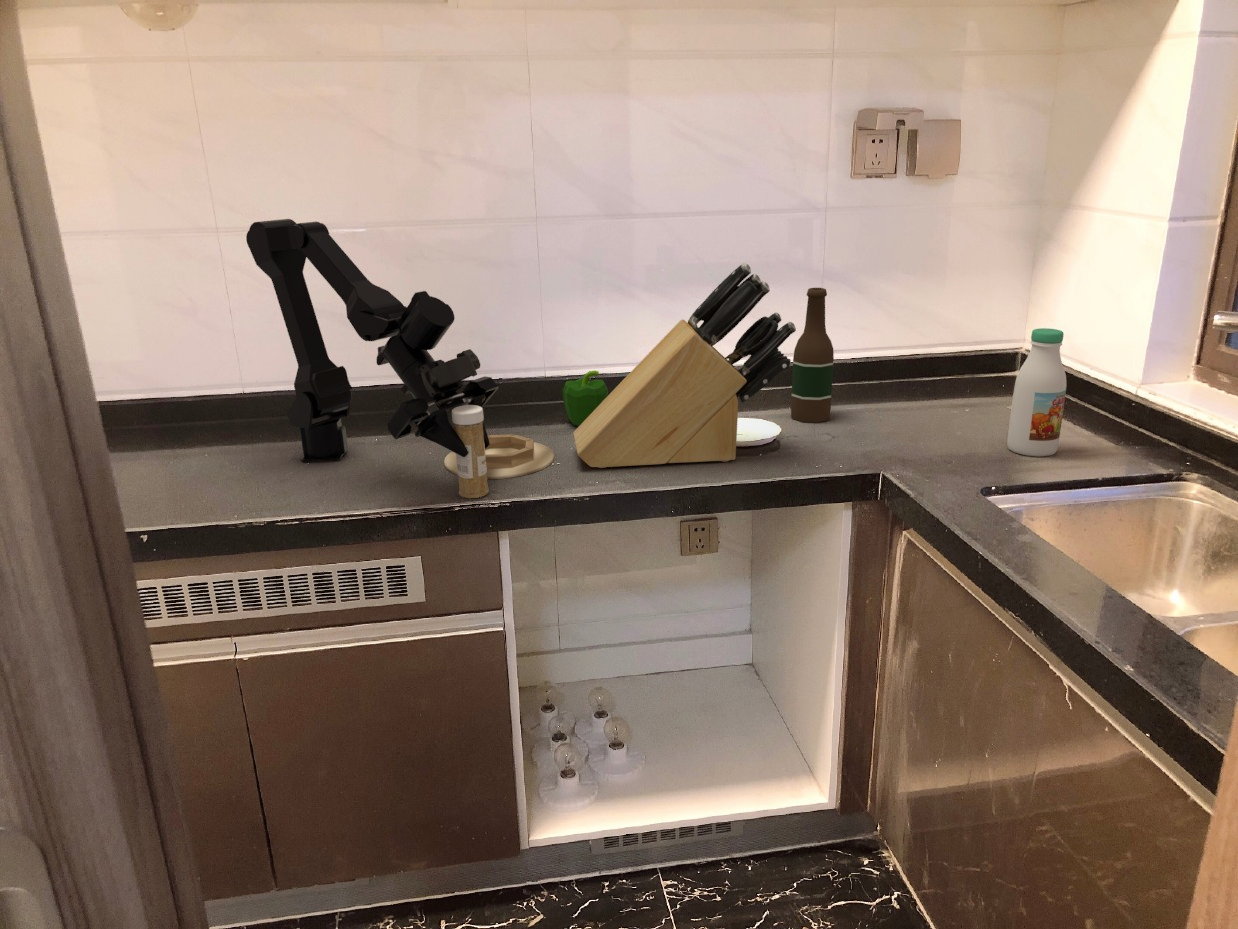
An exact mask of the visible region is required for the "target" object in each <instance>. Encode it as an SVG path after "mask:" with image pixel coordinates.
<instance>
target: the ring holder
mask: <svg viewBox="0 0 1238 929" xmlns="http://www.w3.org/2000/svg"><path fill="white" fill-rule="evenodd" d="M487 435H488V434H487ZM488 439H489V442H490V445H489V447H488V448H486V449H485V456H486V466H487V480H502V479H503V480H504V479H512V478H519V477H522V476H527V475H528V476H529V475H532V474H534V473H535V474H536V473H537V472H540V471H542V470H544V469H546V468H547V467H549V466H551V464H552V463H553V462H554V457H555V456H554V455H555V454H554V451H553V450H552V449H551V448H550V447H549V446H547V445H544V444H542V443H540V442H539V443H538V442H535V441H534V439H532V438H530V437H529V438H528V437H526V436H522V435H518V434H491V435H488ZM444 467H445V469H446V470H447V471H448V472H450V473H451V474H454V475H457V476H458V471H457V461H456V453H454V452H453V451H451V452H449V453H448V454H447V455H446V456H445V457H444Z"/></svg>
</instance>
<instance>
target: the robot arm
mask: <svg viewBox="0 0 1238 929" xmlns="http://www.w3.org/2000/svg"><path fill="white" fill-rule="evenodd" d="M245 236H246V243H247V247H248V248H249V250H250V251H249V252H250V254H251V255H252V259H254V262H255V264H256V266H257V267H258V268H259V269H260V270H262V272H264V274H266V276H267V277H268V278H270V280H271V282H272V285H273V289H274V291H275V294H276V298H277V301H278V304H279V309H280V311H281V315H282V317H283V321H284V323H285V327H286V331H287V334H288V338H289V339H290V344H291V347H292V349H293V353H294V356H295V359H296V362H297V371H296V375H295V379H294V383H293V387H294V392H295V397H296V398H295V400H294V401H293V403H292V404H291V406H290V408H289V409H288V411H287V412H286V415H287V418H288V421H289V424H290V426H293V427H297V428H299V432H300V440H301V445H302V446H301V447H302V453H303V455H302V457H300V461H301V462H304V463H305V462H307V463H308V462H326V461H327V462H329V461H334V462H335V461H340V460H342V458H343V456H344V455H345V454H346V452H347V451H348V448H349V447H348V446H349V445H348V438H347V431H346V430H347V429H346V427H345V426H343V425H342V419H343V418H348V417H349V415H350V408H351V402H352V400H353V394H352V391H351V390H353V387H352V385H351V383H350V381H349V378H348V373H347V369H346V368H345V367H344V366H343V365H341V366H338V365H337V364H335V363H334V362H333V361H332V360H331V359H330V358H329V354H328V351H327V348H326V344H325V341H324V338H323V335H322V332H321V328H320V325H319V321H318V318H317V316H316V312H315V308H314V305H313V303H312V299H311V296H310V292H309V289H308V285H307V282H306V279H305V275H304V269H305V264H306V261H307V260H308V261H309V262H310V263H311V264H312V265H313V267H314V268H315V269H316V271H317V272H318V273H319V274H320V275H321V277H323V279H324V280H325V281H326V282H327V283H328V285H330V287H331V288H332V290H334V291H335V293H336V294H337V295H338V296H339V297H340V299H341V300H342V302H343V303H344V305H345V308H346V309H345V310H346V318H347V320H348V322H349V323H350V324H351V326H352V328H353V329H354V330H355V332H356V334H357V335H358V337H359V338H360V339H362V340H363V341H365V342H375V341H380V340H384V339H388V340H387V341H386V342H385V344H384V345H381V346H378V347H377V356H376V365H377V366H383V365H385V364H389V365H390V367H391V368H392V369H393V370H394V372H395V374H396V375H397V376H398V377H399V379H400V380H401V381H402V383H403V386H402V387H401V388H400V390H401V392H402V393H403V394H404V395H408V394H411V395H412V397H413V398H412V399H409V400H406V401H404V402H400V403H399V405H398V406H397V408H396V409H395V410H394V411H393V413H392V414H391V415H390V417H389V418H388V420H387V430H388V432H389V433H390V435H391V436H392V437H393V439H394V440H398V439H401V438H405V437H408V436H409V435H410V434H411V432H412V426H411V424H413V423H414V424H415V427H416V428H417V430H416V431H415V433H414V436H415V437H416V438H420V437H421V438H424V439H426V440H428V441H430V442H432V443H435V444H437V445H439V446H441V447H443V448H445V449H447V450H449V451H451V452H452V451H453V452H454V453H456V454H458V455H460V456H462V457H466V456H467V455H468V451H467V449H466V447H465V445H464V443H463V442H462V440H461V439H460V438H459V436H458V435H457V433H456V432H455V430H454V426H453V425H451V423H450V421H449V417H448V411H452V409H454V408H456V407H459V406H464V405H476V406H480V407H482V408H484V407H485V405H486V404H487V403H488V401H489V400H490V399H491V398H492V397H493V396H494V394H495V393H496V391H498V390H499V389H500V388H499V386H498V384H497V383H496V382H495V380H494V379H493V378H492V376H491V377H490V376H485V375H484V376H482V377H479V378H475V379H472V380H470V381H469V382H467V385H466V386H465V387H464V389H463V390H462V391H461V392H459V393H458V390H459V389H461V388H462V387H463V385H464V382H463V381H464V380H466V379H469V378H470V377H475V376H477V375H478V373H477V372H478V371H477V370H478V369H480V368H481V362H480V359H479V357H478V356H477V354H475V352H474V350H472V349H466V350H462V351H461V352H459V353H457V354H456V357H455V358H453V359H450V360H446V361H444V360H442V359H437V360H435V359H434V358H433V356H432V355H431V354H430V352H429V351H431V350H433V349H435V348H436V347H437V345H438V344H439V342H441V340H442V339H443V337H444V336H445V334H446V333H447V331H448V330H449V329H450V327H451V326H452V324H453V323H454V322H455V313H454V311H453V309H452V307H451V306H450V305H449V304H447V303H445V302H444V301H443V300H441V299H439V298H437V297H434V296H432V295H431V296H430V294H429V293H428V292H427V291H426V290H422V291H417V292H414V294H413V296H412V297H411V299H410V302H409V303H408V305H407V306H405V305H404V304H403V303H402V302H401V301H400V300H399V299H398V298H397V297H396V296H395V295H394V294H392V293H391V292H390V291H389V290H386V289H385V288H382V287H380V286H378V285H375V284H374V283H373V282H371V281H370V280H369V279H368V278H367V277H366V276H365V274H364V273H363V272H362V271H361V270H360V269H359V267H358V266H357V265H356V264H355V263H354V261H352V259H351V258H350V256H348V255H347V254H346V252H345V251H344V250H343V248H341V247H340V245H339V244H338V242H336V241H335V239H334V238H333V237H332V236H331V235H330V232H329V228H328V227H327V226H326V224H324V223H322V222H320V221H310V222H308V221H307V222H298V223H297V222H295V220H293V219H291V218H285V219H284V218H283V219H274V220H272V219H271V220H263V221H262V220H261V221H255V222H253V223H252V224H250V226H249V229H248V231H247V233H246V235H245ZM483 435H484V443H485V449H486V448H488V447H489V445H490V442H489V439H488V432H487V429H486V426H485V422H484V421H483Z"/></svg>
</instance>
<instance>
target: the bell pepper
mask: <svg viewBox="0 0 1238 929" xmlns="http://www.w3.org/2000/svg"><path fill="white" fill-rule="evenodd" d="M599 372H600V371H598V370H589V371H588V372H586V373H585V374H584V375H583V377H581V378H578V379H577V380H566V381H565V384H564V386H563V388H562V401H563V402H562V403H563V406H564V409H565V412H566V415H567V418H568V419H569V420H570V422H571V423H572V424H573V425H574V426H576V427H579V426H580V425H581V424H582V423H583V422H584V421H585V420H586V419H587V418H588V416H589V415H590V414H591V413H592V412H593V411H594V410H595V409H596V408H597V407H598V406H599V405H600V404H601V403H602V402H603V401H604V400H605V399H606V398H607V396H608V395H609V390H608V387H607V385H606V383H605V381H604V380H603V379H597V378H596V379H592V380H589V379H590V377H592V376H594V377H598V376H599V374H600V373H599Z"/></svg>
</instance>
